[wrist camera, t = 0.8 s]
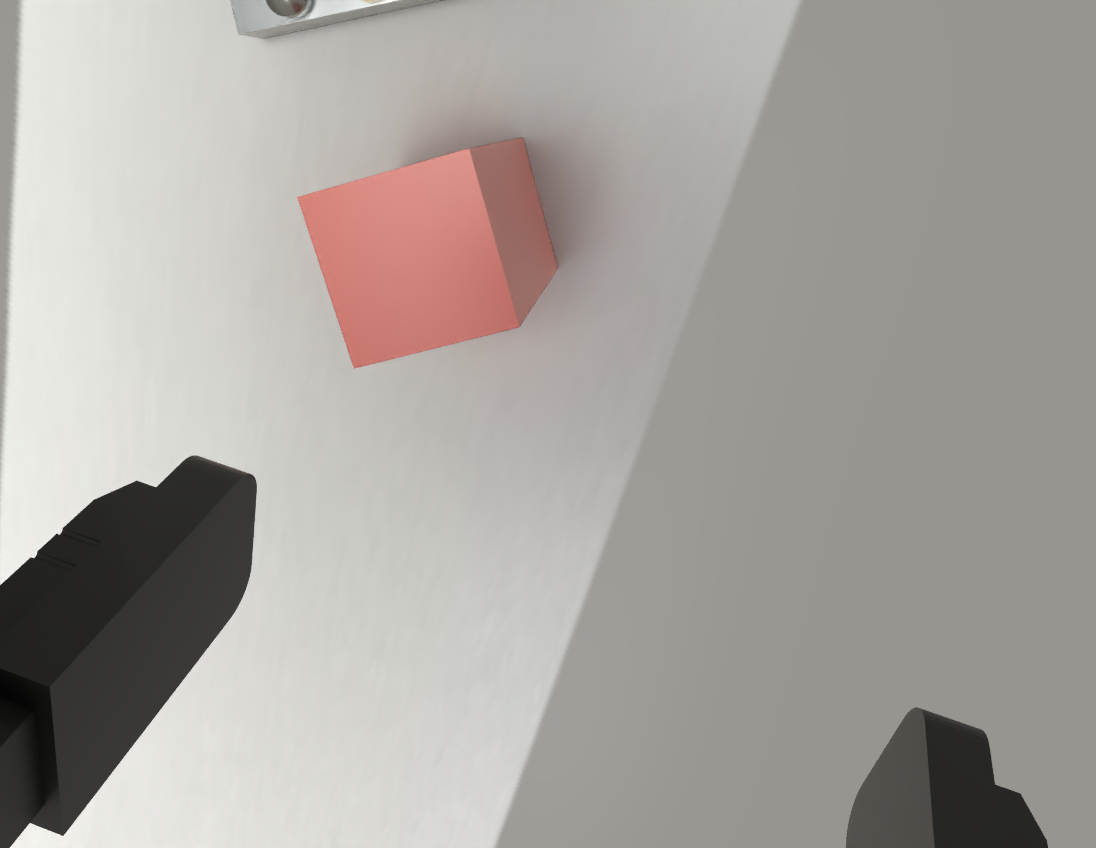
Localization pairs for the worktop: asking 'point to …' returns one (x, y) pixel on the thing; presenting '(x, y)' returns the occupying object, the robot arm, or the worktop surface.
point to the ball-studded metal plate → (306, 13)
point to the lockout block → (432, 251)
